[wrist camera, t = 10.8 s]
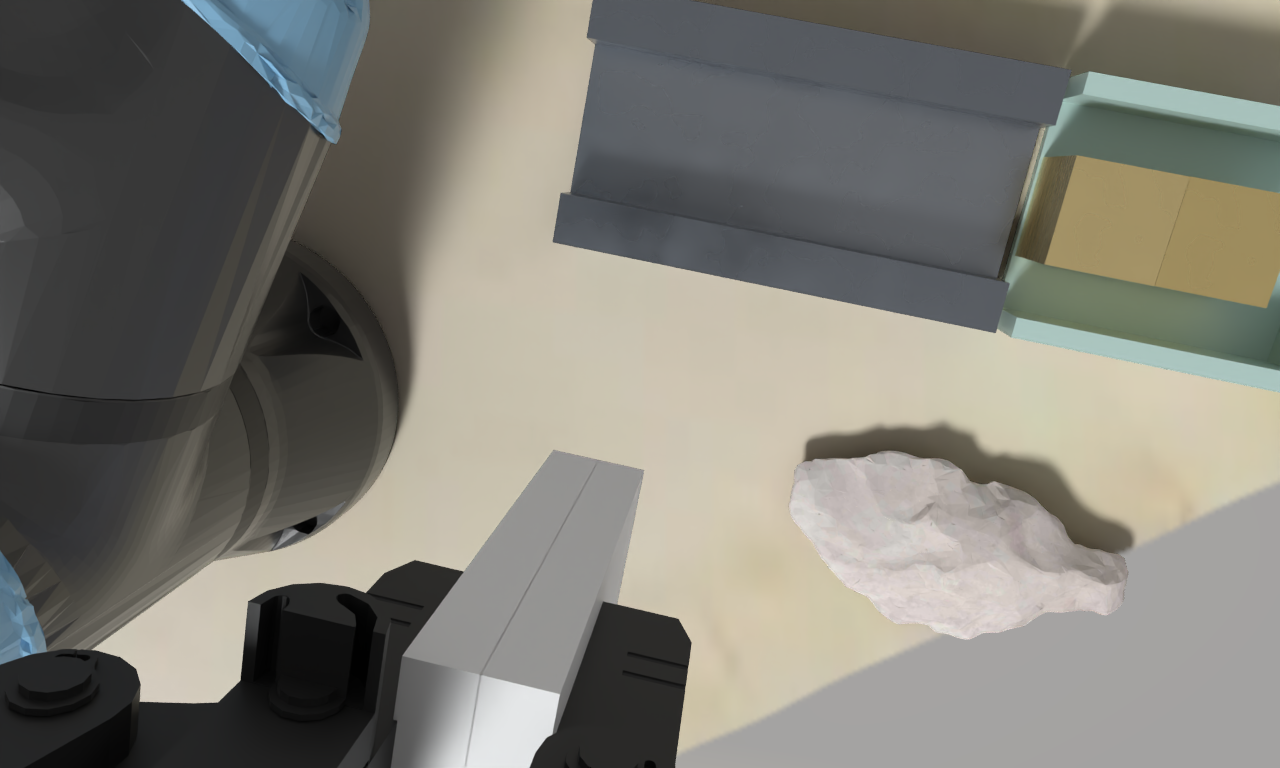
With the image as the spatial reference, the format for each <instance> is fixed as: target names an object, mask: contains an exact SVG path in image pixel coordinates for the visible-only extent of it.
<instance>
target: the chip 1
mask: <svg viewBox="0 0 1280 768" xmlns="http://www.w3.org/2000/svg"><path fill="white" fill-rule="evenodd" d="M1189 179H1190V177H1189V176H1184V175H1179V174H1174V173H1168V172H1163V171H1158V170H1153V169H1147V168H1142V167H1137V166H1132V165H1126V164H1121V163H1116V162H1110V161H1105V160H1100V159H1095V158H1089V157H1084V156H1079V155H1071V156H1056V157H1043V160H1042V163H1041V167H1040V170H1039V174H1038V177H1037V181H1036V184H1035V188H1034V191H1033V195H1032V198H1031V202H1030V205H1029V209H1028V212H1027V215H1026V219H1025V222H1024V226H1023V229H1022V233H1021V236H1020V240H1019V243H1018V247H1017V250H1016V254H1015V256H1018V257H1022V258H1025V259H1028V260H1032V261H1035V262H1038V263H1041V264H1045V265H1050V266H1055V267H1060V268H1065V269H1070V270H1075V271H1080V272H1085V273H1090V274H1095V275H1100V276H1105V277H1110V278H1115V279H1120V280H1125V281H1130V282H1135V283H1140V284H1145V285H1150V286H1155V283H1156V280H1157V276H1158V273H1159V270H1160V267H1161V264H1162V261H1163V258H1164V255H1165V252H1166V249H1167V246H1168V243H1169V240H1170V237H1171V234H1172V231H1173V228H1174V225H1175V222H1176V219H1177V216H1178V212H1179V209H1180V206H1181V203H1182V200H1183V197H1184V194H1185V191H1186V188H1187V185H1188V182H1189Z"/></svg>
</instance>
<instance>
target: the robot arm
mask: <svg viewBox="0 0 1280 768" xmlns="http://www.w3.org/2000/svg"><path fill="white" fill-rule="evenodd" d="M369 23H370V5H369V0H0V768H675V761H676V754H677V746H678V739H679V731H680V724H681V717H682V709H683V702H684V695H685V686H686V680H687V673H688V665H689V658H690V650H691V643H692V642H691V641H690V639H689V637H688V635H687V633H686V632H685V630H684V628H683V626H682V625H681V623H680V621H679V619H676V618H672V617H668V616H664V615H659V614H655V613H651V612H646V611H642V610H638V609H634V608H629V607H625V606H621V605H617V602H618V597H619V592H620V588H621V583H622V578H623V573H624V568H625V563H626V558H627V553H628V548H629V543H630V538H631V533H632V528H633V523H634V518H635V513H636V508H637V504H638V499H639V494H640V489H641V484H642V479H643V474H644V470H641V469H637V468H632V467H628V466H623V465H619V464H614V463H610V462H605V461H601V460H596V459H592V458H587V457H583V456H578V455H574V454H569V453H565V452H560V451H556V450H553V451H552V453H551V454H550V455H549V457H548V458H547V460H546V461H545V462H544V464H543V465H542V466H541V468H540V469H539V470H538V472H537V473H536V474H535V476H534V477H533V479H532V480H531V481H530V483H529V484H528V485H527V487H526V488H525V489H524V491H523V492H522V494H521V495H520V496H519V498H518V499H517V500H516V502H515V503H514V504H513V506H512V507H511V508H510V510H509V511H508V513H507V514H506V515H505V517H504V518H503V519H502V521H501V522H500V523H499V525H498V526H497V528H496V529H495V530H494V532H493V533H492V534H491V536H490V537H489V538H488V540H487V541H486V542H485V544H484V545H483V547H482V548H481V549H480V551H479V552H478V553H477V555H476V556H475V557H474V559H473V560H472V562H471V563H470V564H469V566H468V567H467V568H466V570H465V571H464V572H463V571H459V570H454V569H450V568H446V567H442V566H437V565H433V564H429V563H425V562H420V561H416V560H414V561H412V562H410V563H407V564H405V565H403V566H400V567H398V568H395V569H393V570H391V571H388V572H386V573H384V574H383V575H382V576H381V577H380V578H379V580H378V581H377V582H376V583H375V584H374V585H373V586H372V587H371V588H370V589H369V590H368V591H367V592H366V593H364V592H361V591H358V590H356V589H353V588H350V587H347V586H339V585H332V584H324V583H311V584H292V585H288V586H284V587H280V588H276V589H272V590H268V591H266V592H264V593H263V594H261V595H259V596H257V597H255V598H254V599H252V600H250V601H248V609H247V619H246V630H245V640H244V650H243V661H242V671H241V681H240V682H239V683H238V684H237V685H236V686H235V687H234V688H233V689H232V690H230V691H229V692H228V693H227V694H226V695H225V696H224V697H223V698H222V699H221V700H220V701H219V702H218V703H195V704H193V703H159V702H139V701H140V686H141V684H140V681H139V677H138V674H137V670H136V669H135V668H134V667H133V666H131V665H130V664H129V663H127V662H126V661H125V660H123V659H122V658H121V657H117V656H114V655H110V654H106V653H103V652H99V651H95V650H92V649H93V648H95V647H96V646H97V645H99V644H100V643H102V642H103V641H104V640H106V639H107V638H108V637H110V636H111V635H113V634H114V633H115V632H117V631H118V630H119V629H121V628H122V627H124V626H125V625H126V624H128V623H129V622H130V621H132V620H133V619H135V618H136V617H137V616H139V615H140V614H141V613H143V612H144V611H146V610H147V609H148V608H150V607H151V606H153V605H154V604H155V603H157V602H158V601H159V600H161V599H162V598H164V597H165V596H166V595H168V594H169V593H170V592H172V591H173V590H175V589H176V588H177V587H179V586H180V585H181V584H183V583H184V582H186V581H187V580H188V579H190V578H191V577H193V576H194V575H195V574H197V573H198V572H199V571H201V570H202V569H203V568H204V567H206V566H207V565H209V564H210V563H211V562H213V561H216V560H222V559H228V558H234V557H240V556H246V555H252V554H258V553H264V552H270V551H274V550H278V549H282V548H285V547H288V546H291V545H294V544H296V543H299V542H301V541H303V540H305V539H308V538H310V537H311V536H313V535H315V534H317V533H319V532H320V531H322V530H323V529H325V528H326V527H328V526H329V525H330V524H332V523H333V522H334V521H335V520H337V519H338V518H339V517H340V516H342V515H343V514H344V513H345V512H346V511H348V510H349V509H350V508H351V507H353V506H354V505H355V504H356V503H357V502H358V501H359V500H360V499H361V498H362V497H363V496H364V495H365V493H366V492H367V491H368V490H369V489H370V487H371V486H372V485H373V483H374V482H375V480H376V479H377V477H378V476H379V474H380V472H381V470H382V468H383V466H384V465H385V462H386V460H387V458H388V455H389V452H390V450H391V447H392V443H393V439H394V436H395V431H396V425H397V417H398V386H397V378H396V372H395V367H394V363H393V359H392V356H391V352H390V349H389V346H388V343H387V341H386V338H385V336H384V334H383V331H382V329H381V327H380V325H379V323H378V321H377V319H376V317H375V316H374V314H373V313H372V311H371V309H370V308H369V306H368V305H367V303H366V302H365V300H364V299H363V298H362V296H361V295H360V294H359V293H358V291H357V290H356V289H355V288H354V286H353V285H352V284H351V283H350V282H349V281H348V280H347V279H346V278H345V277H344V276H343V275H342V274H341V273H340V272H339V271H338V270H337V269H335V268H334V267H333V266H332V265H330V264H329V263H328V262H327V261H326V260H324V259H323V258H321V257H320V256H318V255H317V254H315V253H314V252H312V251H310V250H309V249H307V248H305V247H304V246H302V245H300V244H298V243H296V242H294V241H291V240H290V239H291V237H292V235H293V232H294V230H295V227H296V225H297V223H298V220H299V218H300V216H301V213H302V211H303V208H304V206H305V204H306V201H307V199H308V197H309V194H310V192H311V189H312V187H313V185H314V182H315V180H316V178H317V175H318V173H319V170H320V168H321V166H322V163H323V161H324V159H325V156H326V154H327V151H328V149H329V147H330V144H331V143H333V144H337V142H338V140H339V138H340V135H341V130H342V129H341V127H340V124H339V118H340V115H341V112H342V108H343V105H344V102H345V99H346V96H347V93H348V90H349V86H350V83H351V80H352V77H353V75H354V72H355V69H356V66H357V63H358V60H359V58H360V55H361V52H362V49H363V46H364V43H365V41H366V38H367V34H368V30H369Z"/></svg>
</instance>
